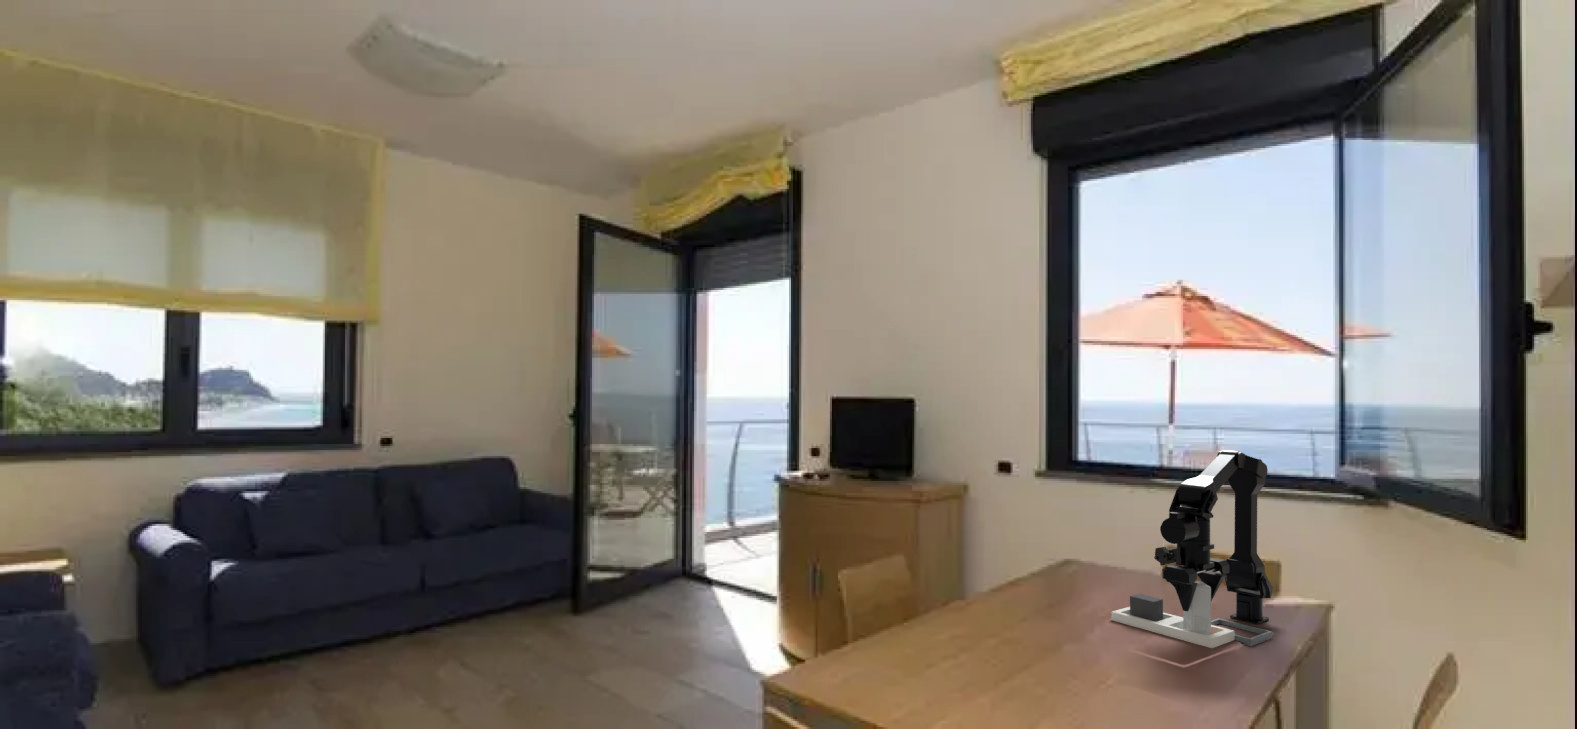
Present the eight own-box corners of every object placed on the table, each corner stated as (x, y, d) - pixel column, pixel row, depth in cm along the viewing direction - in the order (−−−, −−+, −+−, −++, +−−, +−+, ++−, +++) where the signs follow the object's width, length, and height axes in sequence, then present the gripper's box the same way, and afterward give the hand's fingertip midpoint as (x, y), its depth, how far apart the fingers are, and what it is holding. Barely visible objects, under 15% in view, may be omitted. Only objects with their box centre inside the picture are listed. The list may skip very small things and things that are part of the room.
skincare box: (1212, 641, 174) (1211, 587, 174) (1191, 640, 175) (1191, 586, 175) (1202, 632, 180) (1202, 580, 180) (1182, 631, 181) (1182, 579, 181)
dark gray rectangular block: (1139, 618, 191) (1139, 593, 191) (1163, 624, 186) (1162, 599, 186) (1130, 620, 188) (1129, 595, 188) (1153, 627, 183) (1153, 601, 184)
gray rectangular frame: (1218, 624, 188) (1218, 618, 188) (1272, 638, 178) (1272, 631, 178) (1196, 631, 182) (1196, 625, 182) (1251, 646, 172) (1251, 639, 172)
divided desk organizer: (1134, 615, 195) (1134, 605, 195) (1234, 641, 175) (1234, 630, 175) (1111, 621, 189) (1111, 611, 189) (1211, 650, 169) (1211, 638, 169)
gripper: (1183, 528, 190) (1183, 593, 189) (1139, 537, 179) (1139, 605, 179) (1230, 536, 180) (1230, 604, 180) (1187, 545, 170) (1188, 617, 169)
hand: (1196, 607), depth 177 cm, fingers open, 9 cm apart
